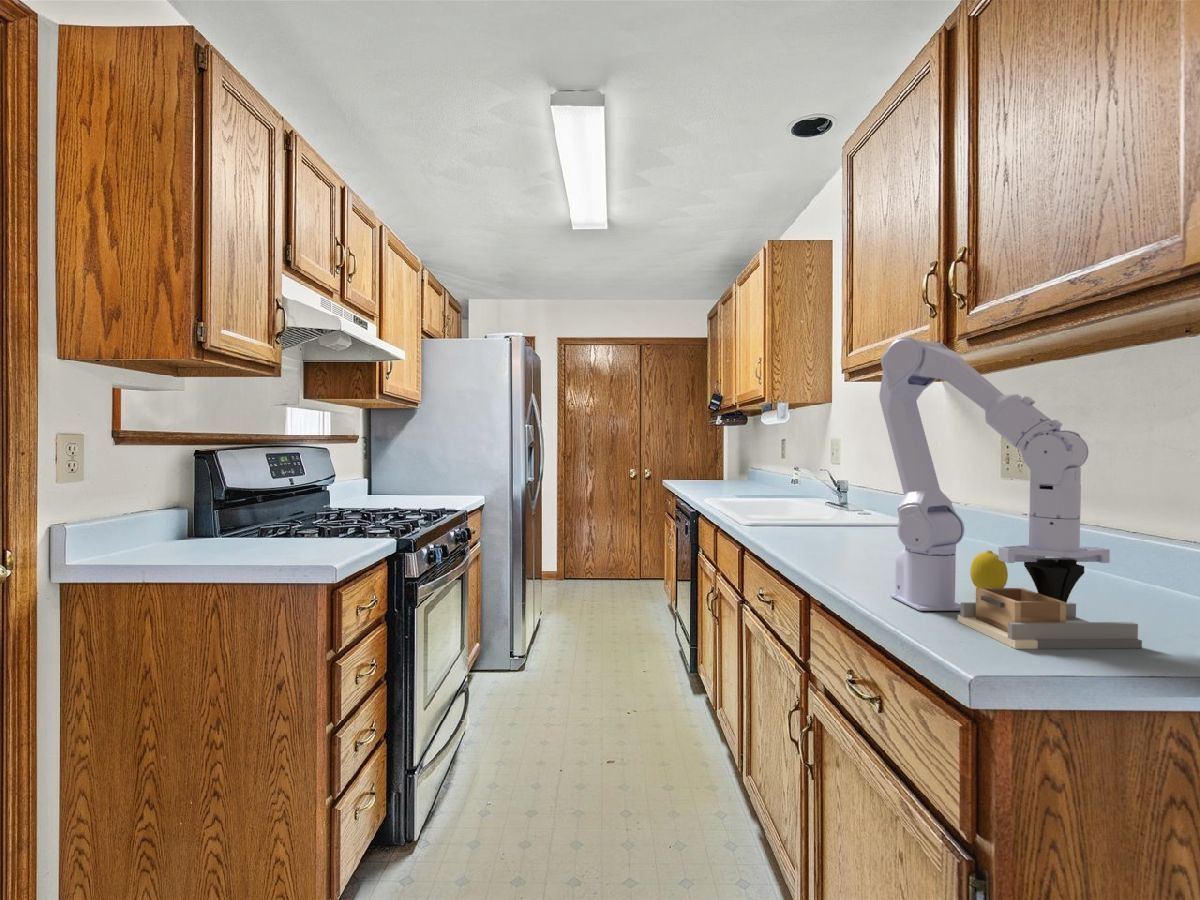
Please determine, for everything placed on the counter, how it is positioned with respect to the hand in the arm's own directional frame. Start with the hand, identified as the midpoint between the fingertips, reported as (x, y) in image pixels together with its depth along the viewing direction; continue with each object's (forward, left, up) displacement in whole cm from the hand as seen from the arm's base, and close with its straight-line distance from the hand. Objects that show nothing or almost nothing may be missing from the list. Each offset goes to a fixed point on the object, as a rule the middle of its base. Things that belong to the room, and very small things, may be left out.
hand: (1052, 613), depth 85 cm
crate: (0, -5, -2) cm, 6 cm away
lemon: (-21, +5, -3) cm, 22 cm away
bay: (0, -1, -3) cm, 3 cm away
